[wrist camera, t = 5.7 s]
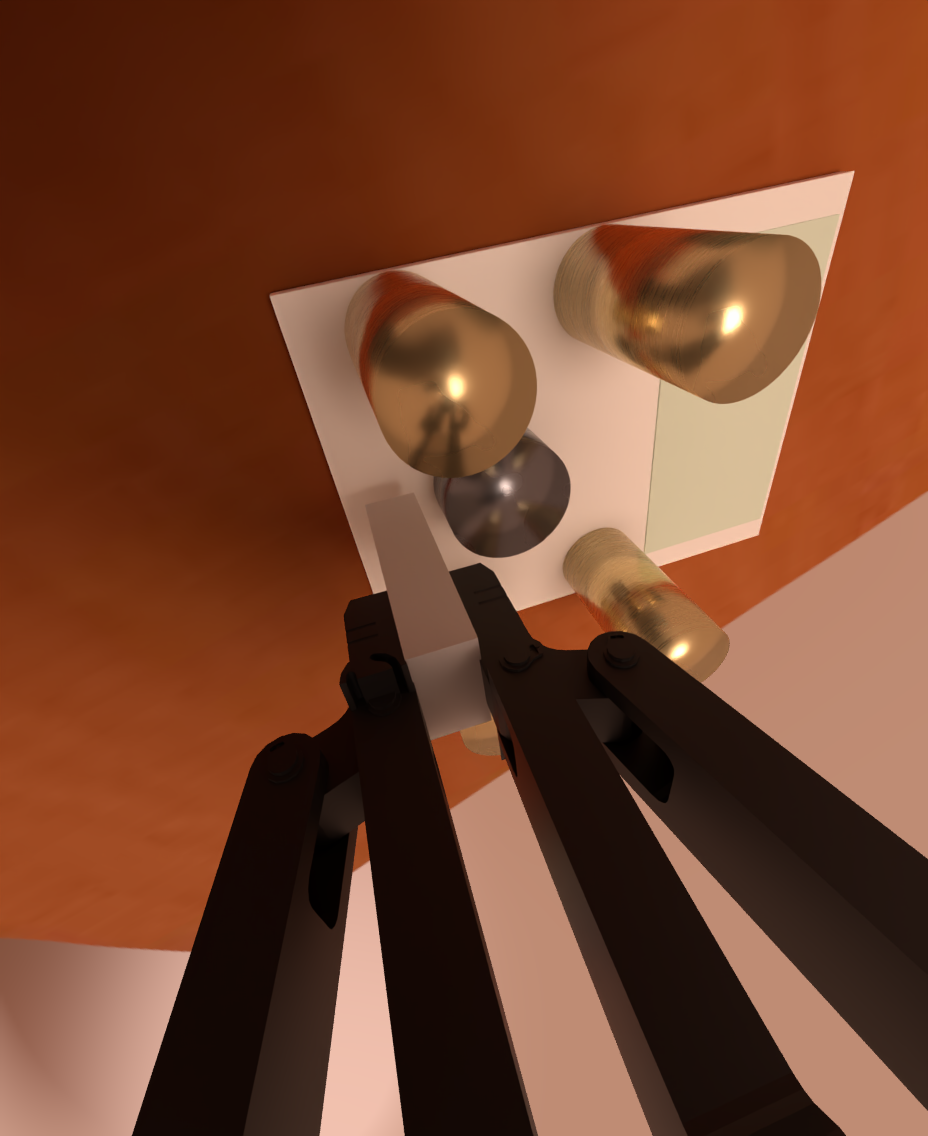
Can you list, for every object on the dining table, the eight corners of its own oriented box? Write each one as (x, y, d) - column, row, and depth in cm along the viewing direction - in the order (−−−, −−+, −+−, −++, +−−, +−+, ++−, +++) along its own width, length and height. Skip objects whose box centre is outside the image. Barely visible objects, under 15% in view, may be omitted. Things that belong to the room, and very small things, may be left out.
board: (270, 293, 13) (269, 296, 12) (839, 171, 15) (856, 170, 14) (391, 641, 21) (393, 651, 20) (750, 529, 23) (759, 535, 22)
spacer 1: (329, 283, 13) (354, 330, 8) (443, 258, 13) (531, 290, 8) (362, 400, 14) (397, 495, 10) (461, 376, 15) (541, 455, 10)
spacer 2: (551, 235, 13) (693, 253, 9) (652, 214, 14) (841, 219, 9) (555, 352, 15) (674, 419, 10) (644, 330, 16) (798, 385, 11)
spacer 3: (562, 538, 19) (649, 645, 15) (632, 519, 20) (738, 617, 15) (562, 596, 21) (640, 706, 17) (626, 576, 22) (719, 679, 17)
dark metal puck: (422, 436, 16) (437, 462, 14) (542, 404, 16) (569, 426, 14) (444, 540, 18) (459, 571, 16) (547, 510, 18) (571, 538, 17)
